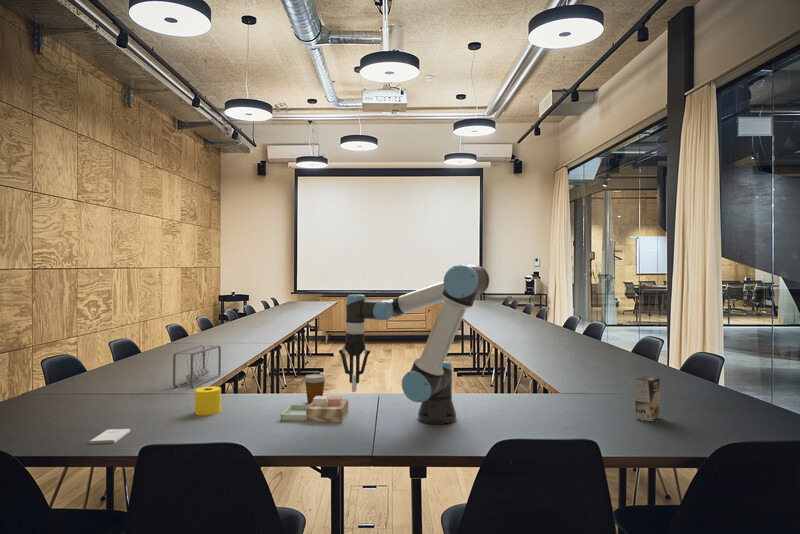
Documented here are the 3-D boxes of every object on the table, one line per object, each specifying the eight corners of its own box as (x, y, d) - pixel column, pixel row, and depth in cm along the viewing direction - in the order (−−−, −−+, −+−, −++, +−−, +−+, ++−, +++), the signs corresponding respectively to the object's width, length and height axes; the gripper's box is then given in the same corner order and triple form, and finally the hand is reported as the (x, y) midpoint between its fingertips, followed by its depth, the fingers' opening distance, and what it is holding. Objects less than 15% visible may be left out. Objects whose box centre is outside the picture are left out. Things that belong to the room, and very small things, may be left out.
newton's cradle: (192, 389, 246) (192, 353, 247) (172, 388, 248) (172, 352, 248) (221, 376, 276) (221, 344, 276) (203, 376, 277) (203, 344, 278)
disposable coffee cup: (321, 406, 215) (321, 378, 215) (300, 405, 217) (300, 377, 217) (328, 400, 224) (328, 374, 224) (308, 399, 226) (308, 373, 226)
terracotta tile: (342, 402, 202) (342, 396, 202) (340, 405, 197) (340, 399, 197) (330, 402, 202) (330, 396, 202) (327, 405, 197) (327, 399, 197)
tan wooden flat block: (348, 411, 207) (348, 399, 207) (341, 422, 192) (341, 409, 192) (315, 410, 208) (315, 398, 208) (306, 421, 193) (306, 408, 193)
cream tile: (328, 402, 202) (328, 396, 202) (325, 405, 197) (325, 399, 197) (315, 401, 203) (315, 395, 203) (313, 405, 198) (313, 398, 198)
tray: (314, 410, 208) (314, 404, 208) (305, 421, 193) (305, 414, 193) (291, 410, 208) (291, 404, 208) (280, 420, 193) (280, 414, 193)
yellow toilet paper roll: (225, 411, 206) (225, 389, 206) (201, 416, 199) (202, 393, 199) (213, 407, 213) (214, 385, 213) (190, 412, 205) (191, 389, 206)
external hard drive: (88, 445, 167) (106, 433, 180) (114, 444, 168) (130, 432, 180) (89, 440, 167) (106, 429, 180) (114, 439, 168) (130, 428, 180)
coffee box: (651, 422, 192) (651, 381, 192) (634, 419, 197) (634, 378, 197) (660, 417, 198) (659, 377, 199) (643, 414, 203) (643, 375, 203)
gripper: (372, 331, 203) (371, 389, 203) (340, 331, 204) (339, 388, 204) (370, 334, 195) (369, 394, 195) (337, 333, 196) (336, 393, 196)
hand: (354, 391), depth 199 cm, fingers closed
